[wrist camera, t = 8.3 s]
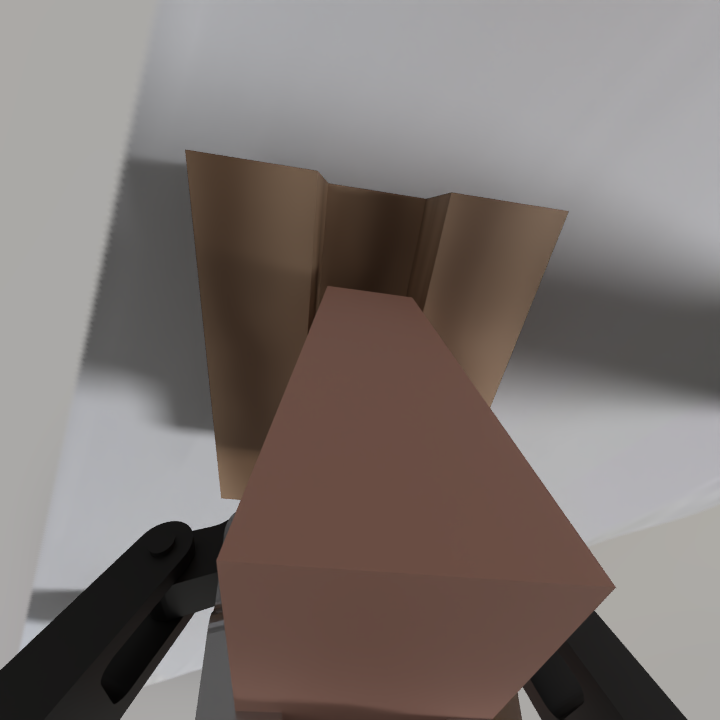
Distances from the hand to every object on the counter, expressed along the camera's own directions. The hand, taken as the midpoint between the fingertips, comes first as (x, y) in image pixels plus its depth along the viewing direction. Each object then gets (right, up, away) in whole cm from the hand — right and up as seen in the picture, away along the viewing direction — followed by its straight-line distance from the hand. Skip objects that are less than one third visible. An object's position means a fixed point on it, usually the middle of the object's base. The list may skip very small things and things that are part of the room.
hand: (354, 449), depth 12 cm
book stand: (0, +5, +10) cm, 11 cm away
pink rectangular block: (0, +2, +4) cm, 5 cm away
